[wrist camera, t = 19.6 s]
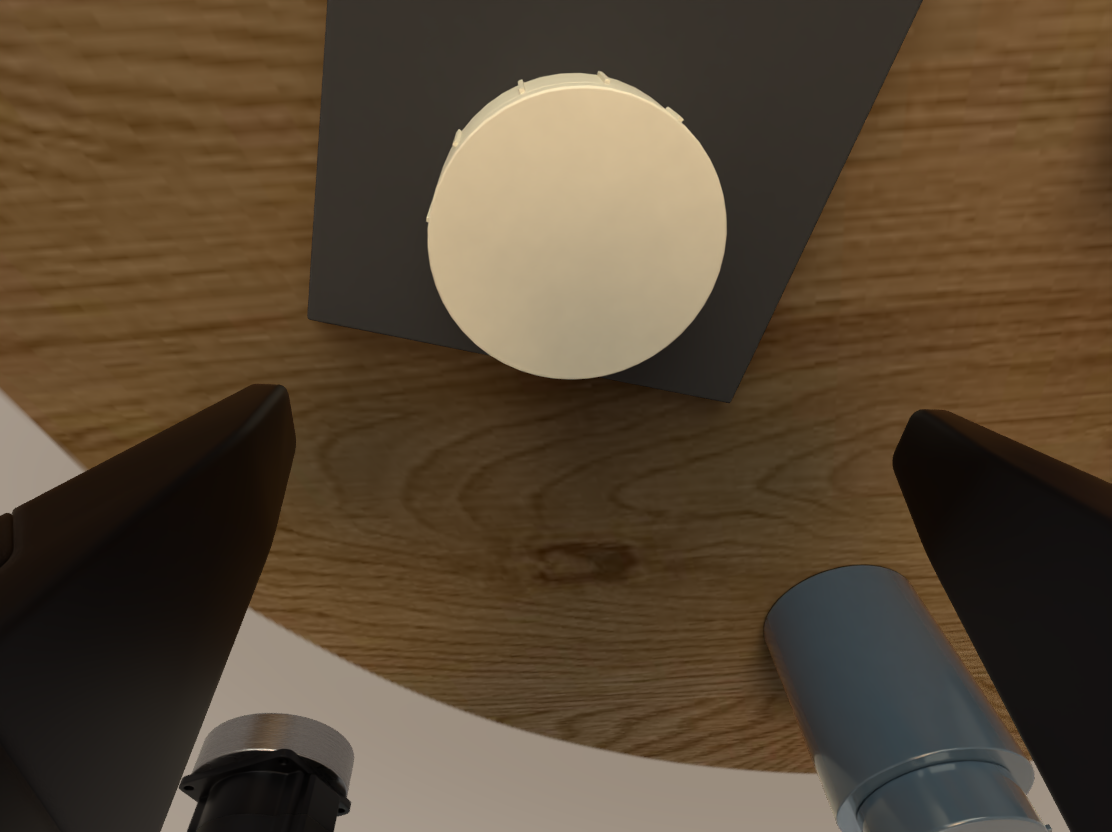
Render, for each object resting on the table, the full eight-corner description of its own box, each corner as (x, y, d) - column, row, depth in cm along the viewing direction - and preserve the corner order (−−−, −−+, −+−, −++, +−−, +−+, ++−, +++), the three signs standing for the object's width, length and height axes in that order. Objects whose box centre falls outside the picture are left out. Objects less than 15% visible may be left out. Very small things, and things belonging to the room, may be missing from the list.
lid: (757, 151, 15) (788, 172, 14) (625, 375, 19) (637, 414, 17) (496, 14, 14) (495, 20, 12) (399, 288, 17) (388, 323, 15)
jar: (776, 679, 28) (868, 918, 21) (750, 592, 25) (849, 840, 18) (919, 641, 27) (1065, 877, 20) (911, 546, 24) (1082, 786, 17)
